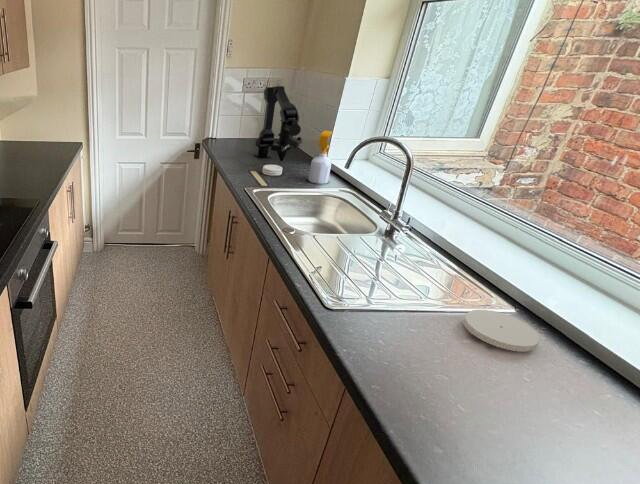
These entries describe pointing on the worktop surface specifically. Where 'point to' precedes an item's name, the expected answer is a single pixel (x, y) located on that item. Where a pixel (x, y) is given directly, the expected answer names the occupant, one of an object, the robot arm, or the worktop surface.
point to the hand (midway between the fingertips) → (281, 160)
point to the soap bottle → (321, 162)
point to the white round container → (272, 170)
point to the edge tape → (258, 178)
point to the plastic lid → (501, 330)
